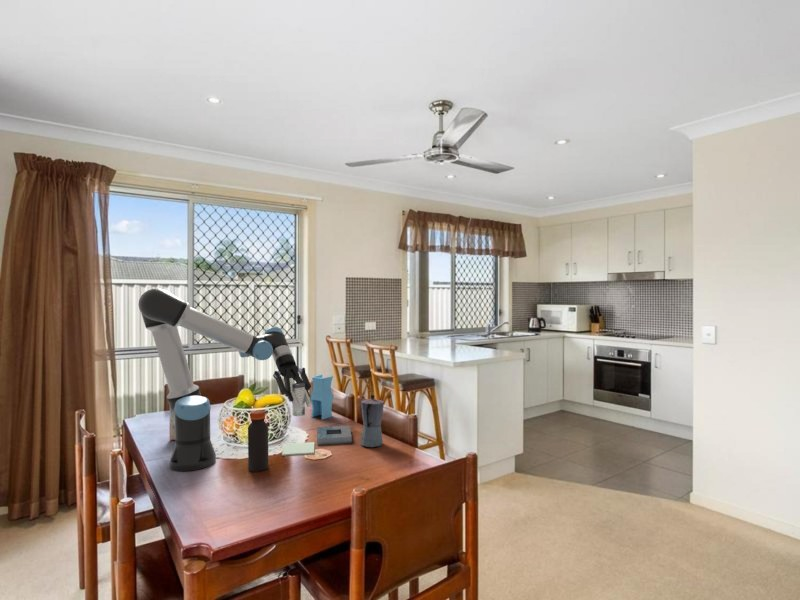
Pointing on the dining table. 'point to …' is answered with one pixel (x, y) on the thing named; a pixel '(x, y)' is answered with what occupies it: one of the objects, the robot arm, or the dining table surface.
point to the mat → (298, 448)
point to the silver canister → (299, 398)
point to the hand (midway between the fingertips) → (303, 406)
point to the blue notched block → (322, 396)
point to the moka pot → (372, 422)
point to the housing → (333, 435)
